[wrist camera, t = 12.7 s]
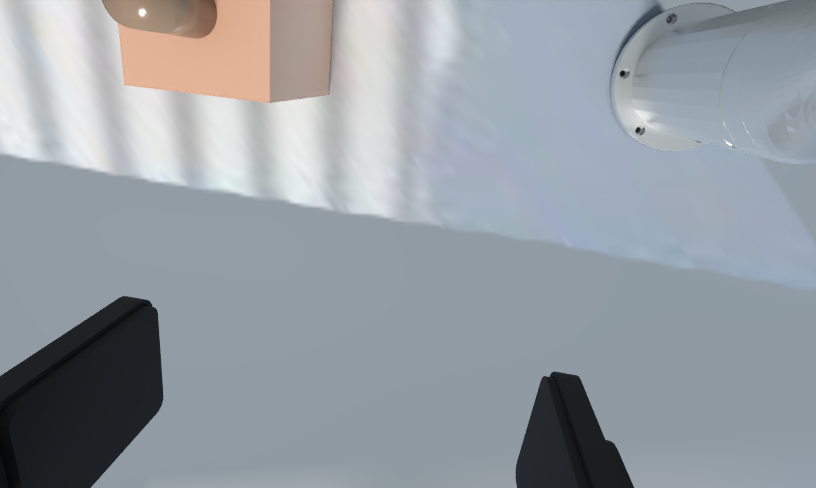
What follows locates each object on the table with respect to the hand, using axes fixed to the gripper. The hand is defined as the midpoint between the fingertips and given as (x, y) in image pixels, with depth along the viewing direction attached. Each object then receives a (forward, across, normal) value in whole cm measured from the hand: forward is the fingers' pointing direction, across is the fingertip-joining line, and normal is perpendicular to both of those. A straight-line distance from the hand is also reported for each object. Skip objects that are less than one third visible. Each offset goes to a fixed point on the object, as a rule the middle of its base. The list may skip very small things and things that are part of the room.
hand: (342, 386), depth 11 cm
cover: (+38, +16, -9) cm, 42 cm away
